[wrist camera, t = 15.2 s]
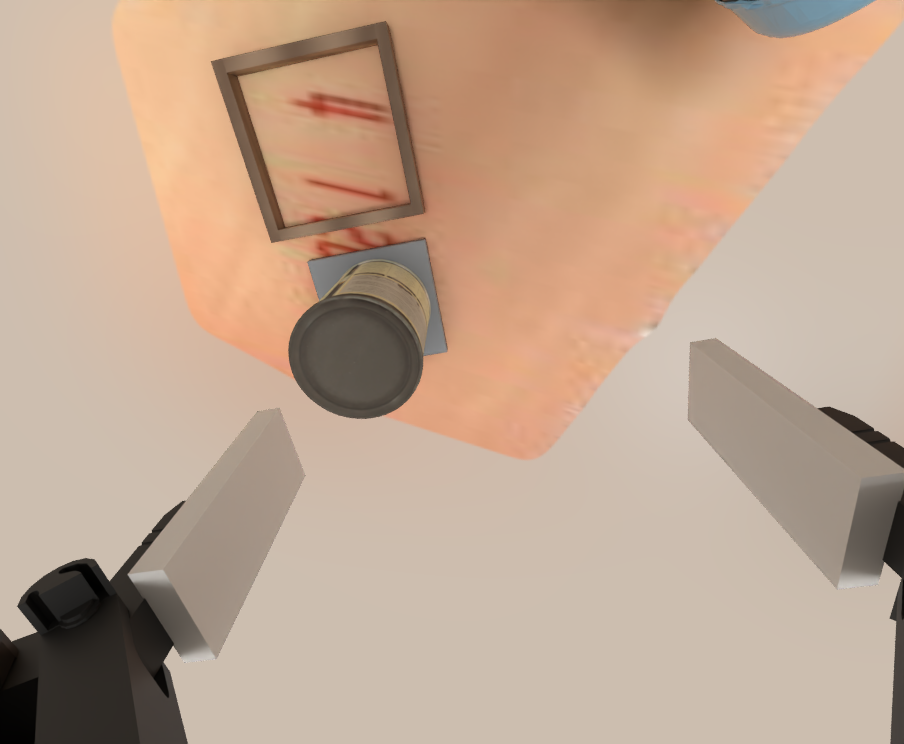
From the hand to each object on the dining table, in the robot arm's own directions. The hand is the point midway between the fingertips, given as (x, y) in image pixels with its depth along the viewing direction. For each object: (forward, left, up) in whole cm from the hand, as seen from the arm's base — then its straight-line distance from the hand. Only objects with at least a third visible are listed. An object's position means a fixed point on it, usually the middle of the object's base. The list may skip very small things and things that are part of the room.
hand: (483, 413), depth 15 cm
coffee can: (+10, +5, -34) cm, 36 cm away
